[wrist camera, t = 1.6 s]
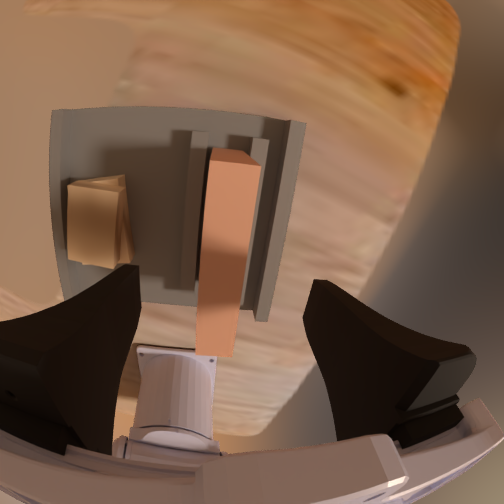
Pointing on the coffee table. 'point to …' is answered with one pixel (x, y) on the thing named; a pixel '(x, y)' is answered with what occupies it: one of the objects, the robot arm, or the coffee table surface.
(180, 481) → the robot arm
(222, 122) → the rack
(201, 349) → the panel
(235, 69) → the coffee table surface
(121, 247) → the block
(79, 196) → the offcut top
